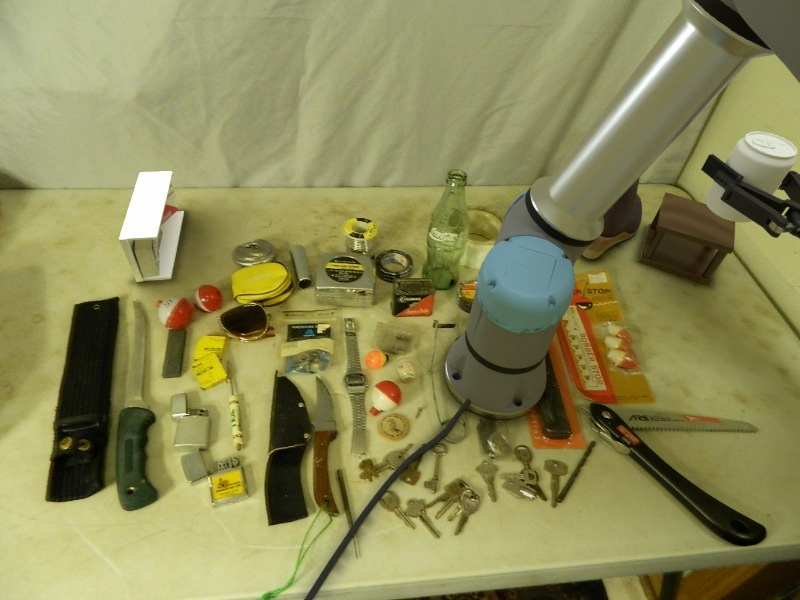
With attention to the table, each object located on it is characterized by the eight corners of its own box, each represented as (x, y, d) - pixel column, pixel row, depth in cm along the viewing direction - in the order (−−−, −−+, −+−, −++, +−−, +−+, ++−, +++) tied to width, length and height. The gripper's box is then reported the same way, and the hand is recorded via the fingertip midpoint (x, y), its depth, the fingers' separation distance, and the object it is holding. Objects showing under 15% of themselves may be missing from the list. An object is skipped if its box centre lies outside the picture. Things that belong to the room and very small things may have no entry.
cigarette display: (170, 280, 91) (156, 237, 84) (136, 281, 90) (118, 239, 83) (184, 208, 104) (173, 167, 97) (154, 209, 103) (141, 168, 96)
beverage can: (753, 232, 82) (801, 165, 74) (699, 214, 85) (739, 147, 76) (756, 205, 87) (801, 140, 79) (705, 189, 90) (743, 124, 81)
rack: (708, 285, 99) (734, 249, 93) (638, 261, 103) (658, 225, 96) (712, 248, 107) (736, 212, 100) (647, 227, 110) (665, 192, 104)
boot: (649, 215, 113) (693, 129, 99) (606, 274, 99) (650, 184, 85) (610, 199, 116) (647, 113, 102) (564, 253, 103) (599, 163, 88)
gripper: (775, 284, 70) (665, 187, 84) (886, 258, 75) (765, 170, 90) (810, 241, 64) (686, 144, 79) (927, 216, 70) (792, 130, 84)
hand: (728, 158), depth 84 cm, fingers closed on beverage can, 8 cm apart
